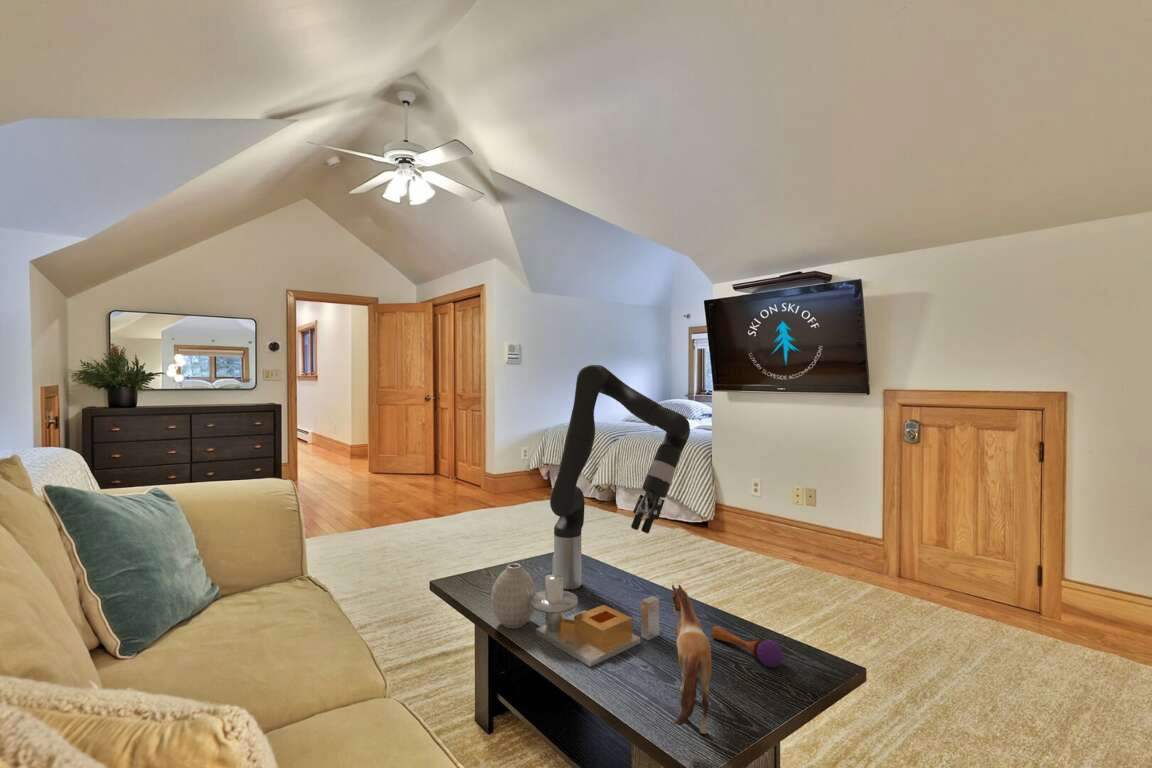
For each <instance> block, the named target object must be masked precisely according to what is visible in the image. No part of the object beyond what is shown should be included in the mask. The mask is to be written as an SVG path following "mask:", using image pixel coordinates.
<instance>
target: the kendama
mask: <svg viewBox="0 0 1152 768" xmlns="http://www.w3.org/2000/svg"><path fill="white" fill-rule="evenodd" d="M710 636H711V637H712V639H714V640H719V641H723V642H727V643H730V644H734V645H738V646H742V647H745V648H746V649H747V650H748V651H749V652H750V653H751V654H752V655H753V657H755V659H758V660H759V661H760V662H761V664H763V665H764V667H767V666H768V667H767V668H777V667H779V665H781V664H782V663H783V660H784V653H783V649H782V647H781V646H780V645H779V644H778V643H777V641H774V640H771V639H770V640H769V639H767V640H763V641H762V640H753V641H746V640H743V638H740V637H739V636H736V634H733V633H731V632H729V631H727V630H725V629H723V628H722V627H720V626H718V625H714V626H713V627H712V629H711V632H710Z"/></svg>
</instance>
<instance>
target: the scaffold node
mask: <svg viewBox="0 0 1152 768" xmlns="http://www.w3.org/2000/svg"><path fill="white" fill-rule="evenodd" d="M544 579H545V581H544V582H545V583H544V584H545V590H542V591H538V592H536V594H534V595H533V596H532V597H531V599H530V605H531V607H532V608H534V609H535V610H534V611H538V612H541V613H545V616H544V618H545V619H544V620H545V623H544V625H542V626H540V627H536V628H535V635H536V636H538V637H540V638H541V637H542V638H541V639H543V638H544V639H543V640H545V639H546V640H547V641H546V640H545V641H546V642H548V641H549V642H548V643H549V644H551V643H552V644H551V645H553V646H555V647H556V648H557V649H559V650H561V651H562V652H565V653H566V654H568V655H569V656H571V657H573V658H574V659H576V660H578V661H579V662H581V663H583V664H584V665H586V666H588V667H589V668H591V667H593V666H596V665H597V664H600V663H601V662H604V661H606V660H607V659H610V658H613V657H614V656H616V655H618V654H620V653H622V652H625V651H627V650H629V649H631V648H634V647H635V646H637V645H641V636H638V635H636V634H634V633H633V617H632V616H629V615H626V614H625V613H622V612H620V611H618V610H616V609H614V608H611V607H609V606H607V605H606V604H602V605H599V606H597V607H594V608H591V609H589V610H585V609H584V610H581V611H580V612H577V613H574V614H571V615H569V616H568V615H567V616H565V617H564V613H567V612H569V611H572V610H574V609H575V608H576V607H577V606H579V605H578V603H579V598H578V596H577V595H576V594H575V593H573V592H570V591H568V590H564V589H563V576H561V575H558V574H552V573H551V574H547V575H546V576H545V578H544Z"/></svg>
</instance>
